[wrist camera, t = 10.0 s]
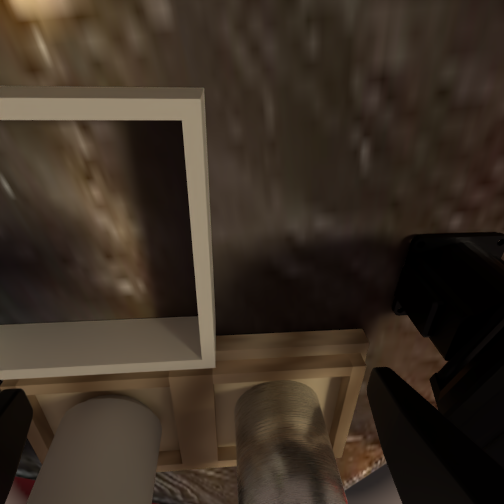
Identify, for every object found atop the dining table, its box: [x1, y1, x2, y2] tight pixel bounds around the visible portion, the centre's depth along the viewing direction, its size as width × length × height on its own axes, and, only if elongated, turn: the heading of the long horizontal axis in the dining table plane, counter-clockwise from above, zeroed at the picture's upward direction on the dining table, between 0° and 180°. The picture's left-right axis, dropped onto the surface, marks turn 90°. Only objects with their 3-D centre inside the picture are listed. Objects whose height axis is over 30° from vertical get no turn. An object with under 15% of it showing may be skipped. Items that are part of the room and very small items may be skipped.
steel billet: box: [234, 380, 348, 504], centre depth 23 cm, size 7×7×12 cm
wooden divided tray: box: [0, 329, 370, 472], centre depth 28 cm, size 26×14×3 cm, turn 89°
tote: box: [0, 86, 216, 380], centre depth 19 cm, size 16×16×4 cm
